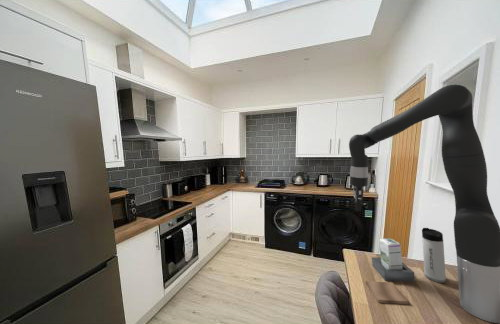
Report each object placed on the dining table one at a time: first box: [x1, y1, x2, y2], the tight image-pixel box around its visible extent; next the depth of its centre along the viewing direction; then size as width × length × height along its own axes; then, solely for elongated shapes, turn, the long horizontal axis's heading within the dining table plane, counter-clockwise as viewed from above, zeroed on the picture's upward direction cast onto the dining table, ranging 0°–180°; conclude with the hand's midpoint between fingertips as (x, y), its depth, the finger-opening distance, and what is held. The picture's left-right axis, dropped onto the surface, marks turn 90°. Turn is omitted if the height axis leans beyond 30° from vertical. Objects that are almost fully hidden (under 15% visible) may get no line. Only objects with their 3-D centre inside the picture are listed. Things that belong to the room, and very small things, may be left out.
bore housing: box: [371, 256, 416, 283], centre depth 80 cm, size 11×11×4 cm
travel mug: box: [421, 227, 447, 283], centre depth 76 cm, size 6×7×20 cm
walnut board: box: [365, 280, 411, 305], centre depth 69 cm, size 10×10×1 cm
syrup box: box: [378, 237, 403, 270], centre depth 80 cm, size 6×6×14 cm
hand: (357, 207), depth 90 cm, fingers open, 8 cm apart
